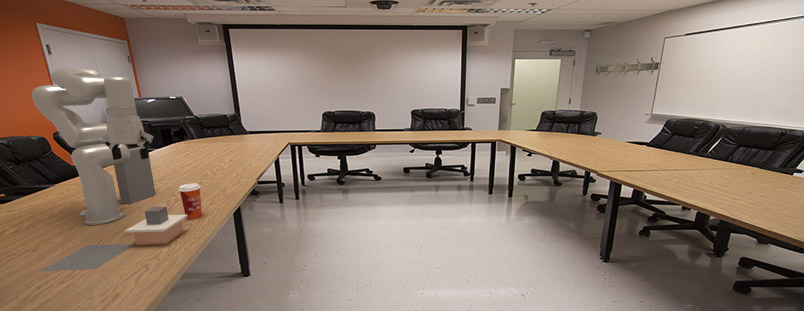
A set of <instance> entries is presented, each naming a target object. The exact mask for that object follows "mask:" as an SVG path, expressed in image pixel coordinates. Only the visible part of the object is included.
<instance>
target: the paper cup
mask: <svg viewBox="0 0 804 311" xmlns="http://www.w3.org/2000/svg"><path fill="white" fill-rule="evenodd" d="M178 192H179V194H180V198H181V202H182V206H183V211H184V215H188V217H186V218H185V219H186V220H189V219H191V220H196V218H197V219H199V218H202V215H203V214H202V201H201V186H200V184H199V183H196V182H195V183H193V182H192V183H186V184H182V185H180V186H179V189H178Z"/></svg>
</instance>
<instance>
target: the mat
mask: <svg viewBox="0 0 804 311" xmlns="http://www.w3.org/2000/svg"><path fill="white" fill-rule="evenodd" d="M135 245H136V243H123V244H122V243H121V244H118V243H117V244H87V245H85V246H83V247H82V248H79V249H78V250H76V251H74V252H72V253H70V254H68V255H67V256H65V257H63V258H61V259H59V260H57V261H55V262H53V263H52V264H50V265H48V266H47V267H44V268H43V269H40V270H39V272H51V271H53V272H54V271H55V272H56V271H73V270H75V271H76V270H80V271H81V270H97V269H98V268H100V267H102V266H103V265H105V264H106V263H108V262H109V261H111V260H113V259H115V257H117V256H119V255H120V254H122V253H123V252H125V251H127V250H128V249H130V248H131V247H133V246H135Z"/></svg>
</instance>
